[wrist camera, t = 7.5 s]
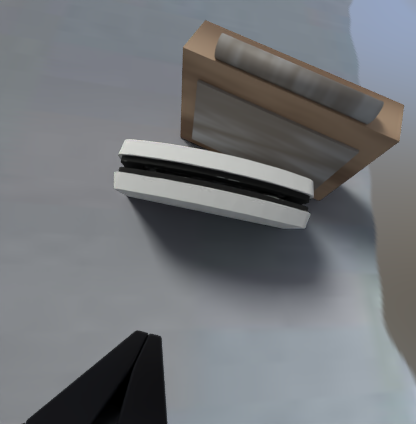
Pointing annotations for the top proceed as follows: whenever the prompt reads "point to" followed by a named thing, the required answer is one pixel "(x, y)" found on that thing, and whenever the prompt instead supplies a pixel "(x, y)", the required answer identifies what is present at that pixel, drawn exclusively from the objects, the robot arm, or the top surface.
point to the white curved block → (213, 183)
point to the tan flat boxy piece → (281, 110)
